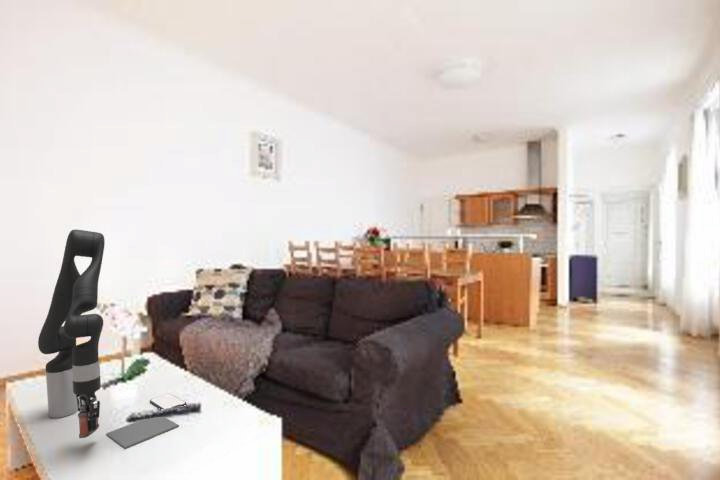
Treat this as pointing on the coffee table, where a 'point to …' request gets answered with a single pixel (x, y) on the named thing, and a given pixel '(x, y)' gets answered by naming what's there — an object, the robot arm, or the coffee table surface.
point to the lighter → (85, 423)
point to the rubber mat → (141, 431)
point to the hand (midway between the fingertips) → (89, 427)
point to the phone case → (167, 401)
